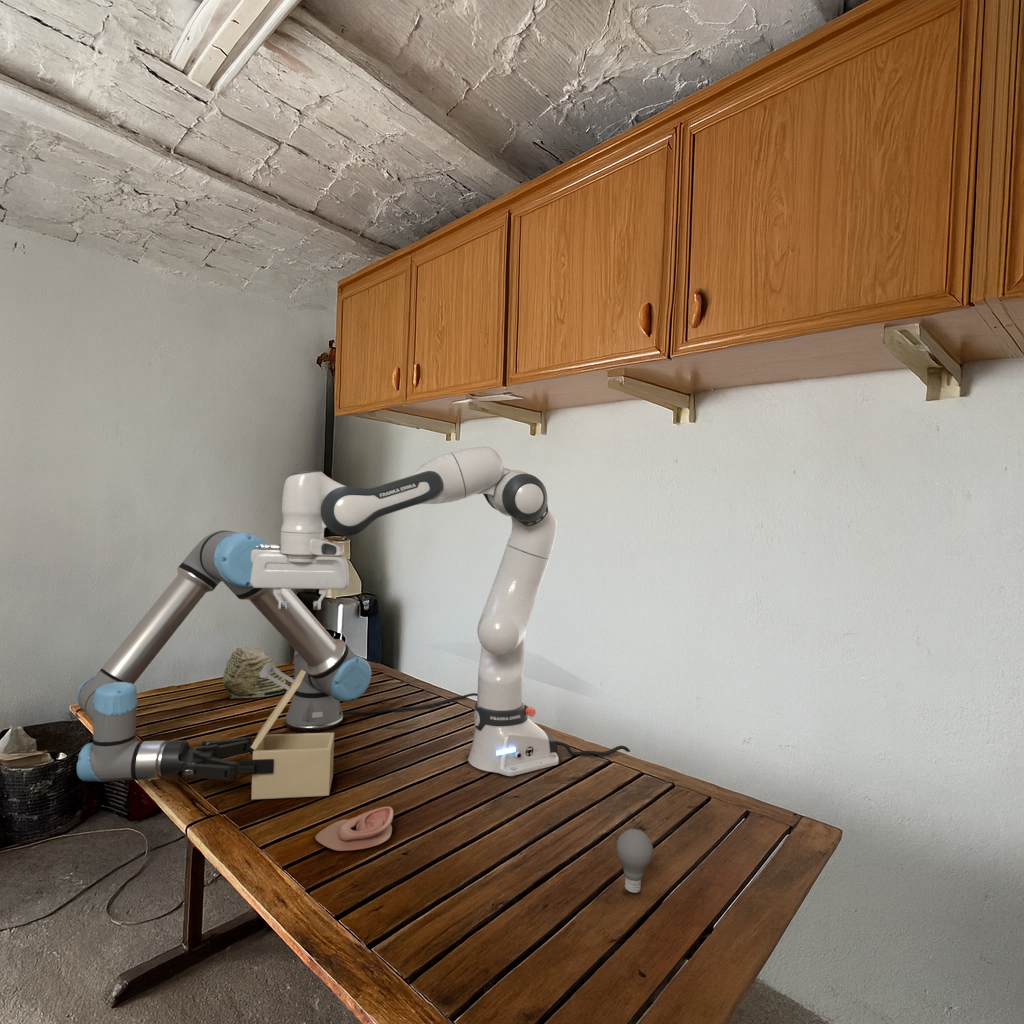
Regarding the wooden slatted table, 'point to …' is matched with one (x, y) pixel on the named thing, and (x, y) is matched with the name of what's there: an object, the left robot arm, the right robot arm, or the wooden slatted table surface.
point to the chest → (295, 766)
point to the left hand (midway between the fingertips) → (277, 756)
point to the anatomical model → (358, 831)
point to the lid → (283, 701)
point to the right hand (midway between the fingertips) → (299, 609)
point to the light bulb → (634, 857)
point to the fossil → (250, 674)
